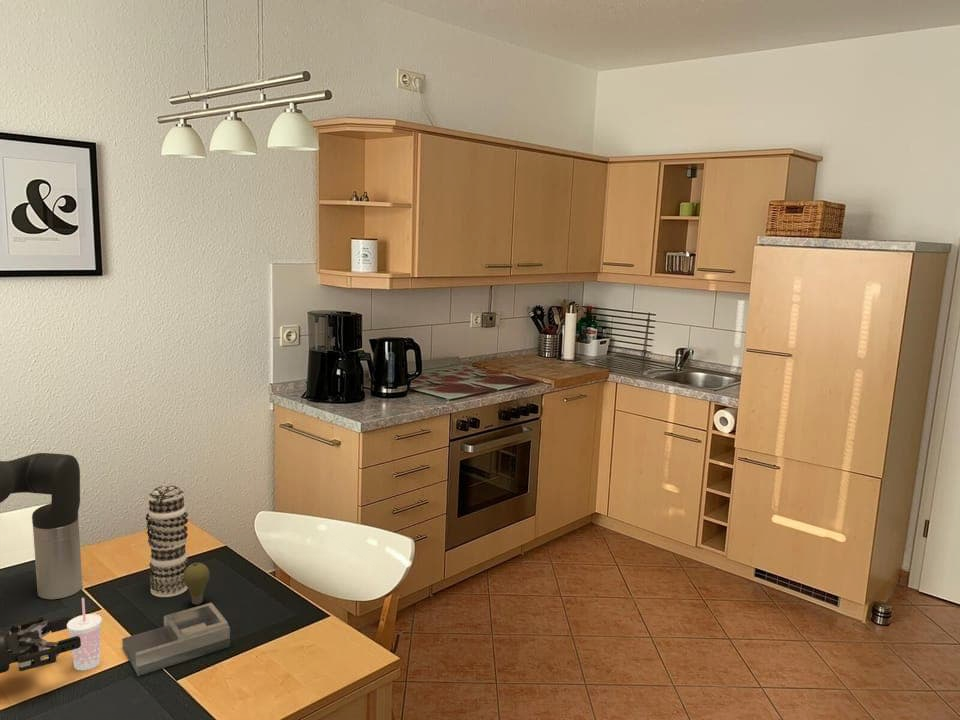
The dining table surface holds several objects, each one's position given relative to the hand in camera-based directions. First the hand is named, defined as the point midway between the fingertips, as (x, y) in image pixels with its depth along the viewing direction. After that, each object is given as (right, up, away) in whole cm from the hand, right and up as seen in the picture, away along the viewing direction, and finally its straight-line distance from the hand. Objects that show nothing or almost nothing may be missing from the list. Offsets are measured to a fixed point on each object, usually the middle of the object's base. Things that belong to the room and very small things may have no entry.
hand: (76, 631), depth 145 cm
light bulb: (+14, -4, +26) cm, 30 cm away
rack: (+16, -7, +9) cm, 19 cm away
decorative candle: (+5, -2, +33) cm, 33 cm away
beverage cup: (+1, -7, +2) cm, 8 cm away
